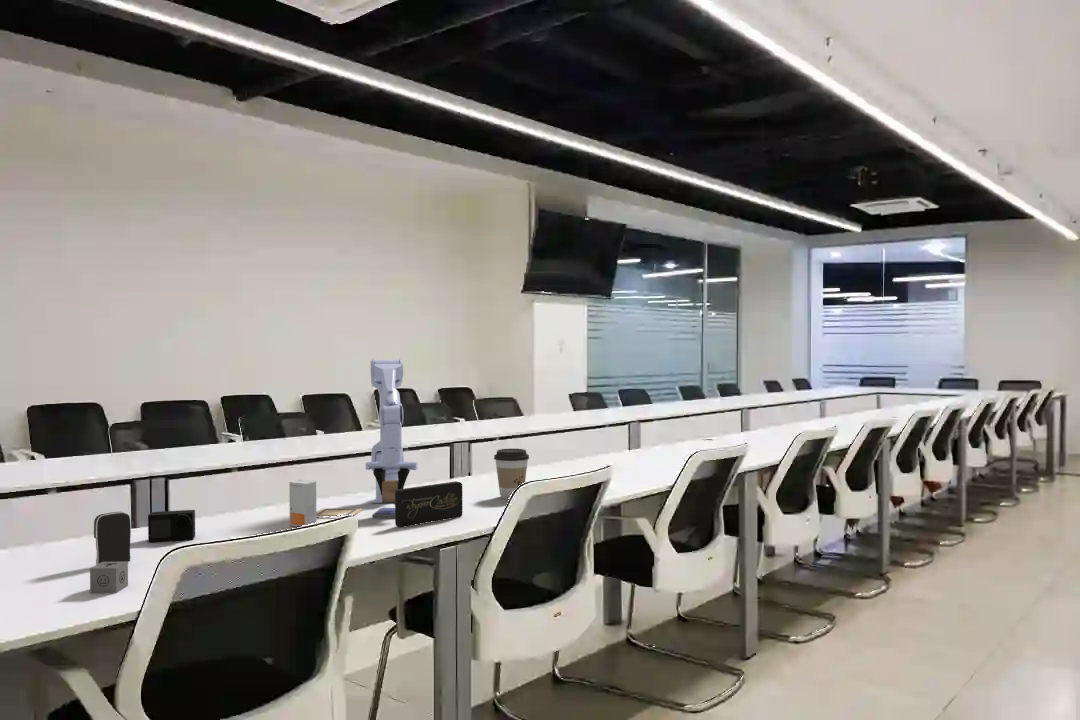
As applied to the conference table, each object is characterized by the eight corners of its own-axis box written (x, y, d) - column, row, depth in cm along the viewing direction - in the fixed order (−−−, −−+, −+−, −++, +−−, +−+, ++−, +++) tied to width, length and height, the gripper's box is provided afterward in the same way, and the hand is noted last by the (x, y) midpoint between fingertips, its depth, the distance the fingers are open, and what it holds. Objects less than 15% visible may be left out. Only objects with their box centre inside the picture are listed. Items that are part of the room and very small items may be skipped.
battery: (125, 559, 186) (124, 509, 186) (131, 562, 184) (131, 511, 183) (92, 565, 181) (91, 513, 181) (98, 568, 178) (97, 516, 178)
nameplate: (399, 528, 218) (398, 490, 217) (395, 527, 219) (395, 489, 219) (462, 517, 232) (462, 481, 232) (458, 516, 233) (458, 480, 233)
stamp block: (386, 500, 236) (385, 479, 236) (401, 500, 236) (400, 479, 236) (382, 503, 232) (381, 482, 232) (397, 503, 232) (397, 482, 231)
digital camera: (146, 544, 201) (146, 515, 201) (150, 539, 206) (150, 511, 206) (192, 541, 204) (192, 513, 204) (195, 536, 209) (195, 509, 209)
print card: (322, 509, 243) (322, 507, 242) (362, 509, 242) (362, 508, 242) (308, 518, 231) (308, 516, 231) (350, 518, 230) (350, 516, 230)
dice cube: (128, 586, 166) (127, 561, 165) (116, 593, 161) (116, 568, 160) (102, 586, 165) (102, 561, 165) (90, 594, 160) (89, 568, 160)
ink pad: (380, 511, 239) (380, 507, 239) (411, 512, 238) (411, 507, 238) (372, 518, 230) (372, 513, 230) (403, 518, 229) (403, 513, 229)
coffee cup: (514, 502, 253) (514, 453, 253) (486, 498, 260) (486, 450, 260) (536, 496, 262) (536, 449, 262) (509, 492, 269) (509, 447, 269)
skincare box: (288, 526, 220) (288, 481, 220) (300, 523, 224) (300, 479, 224) (305, 528, 217) (305, 483, 217) (317, 525, 221) (316, 481, 221)
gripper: (362, 449, 230) (362, 497, 231) (413, 449, 229) (413, 497, 230) (369, 445, 237) (369, 492, 238) (418, 446, 236) (419, 493, 237)
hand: (391, 494), depth 234 cm, fingers closed on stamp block, 4 cm apart
